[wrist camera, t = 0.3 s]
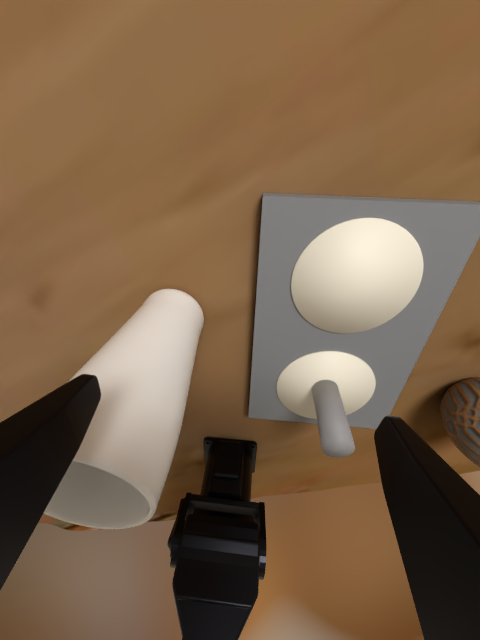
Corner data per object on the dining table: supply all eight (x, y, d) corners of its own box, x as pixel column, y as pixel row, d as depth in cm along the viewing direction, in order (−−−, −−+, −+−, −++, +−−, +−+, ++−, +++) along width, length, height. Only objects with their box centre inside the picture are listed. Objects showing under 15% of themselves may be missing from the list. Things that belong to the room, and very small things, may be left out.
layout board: (378, 419, 30) (407, 492, 24) (248, 408, 31) (244, 477, 24) (482, 201, 18) (597, 236, 11) (262, 192, 18) (260, 220, 12)
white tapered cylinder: (198, 269, 22) (106, 446, 9) (223, 336, 25) (181, 530, 13) (123, 287, 23) (-42, 459, 11) (157, 348, 27) (61, 532, 14)
